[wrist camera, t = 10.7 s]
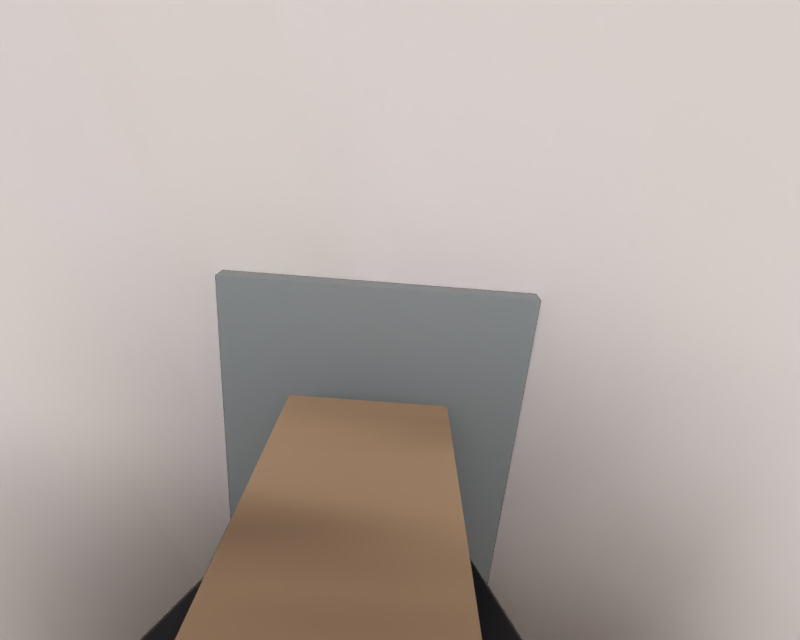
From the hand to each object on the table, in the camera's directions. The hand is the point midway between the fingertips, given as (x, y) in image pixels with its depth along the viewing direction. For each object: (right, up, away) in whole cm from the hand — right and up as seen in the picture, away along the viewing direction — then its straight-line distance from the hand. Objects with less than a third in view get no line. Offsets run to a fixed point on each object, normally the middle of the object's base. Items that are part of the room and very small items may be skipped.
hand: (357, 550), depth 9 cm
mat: (0, -2, +4) cm, 4 cm away
